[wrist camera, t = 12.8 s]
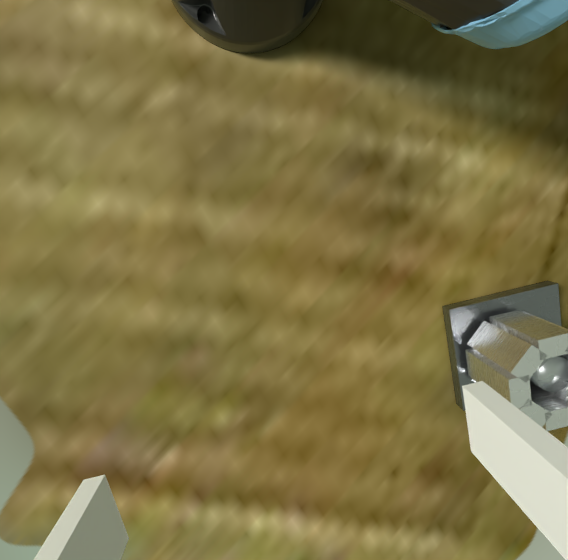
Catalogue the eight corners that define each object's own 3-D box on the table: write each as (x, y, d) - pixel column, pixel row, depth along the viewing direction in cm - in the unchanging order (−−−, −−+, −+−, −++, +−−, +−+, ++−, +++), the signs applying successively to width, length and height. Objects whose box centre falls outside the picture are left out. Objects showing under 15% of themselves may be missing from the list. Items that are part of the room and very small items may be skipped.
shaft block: (442, 306, 41) (485, 330, 34) (547, 280, 42) (614, 298, 34) (456, 403, 44) (499, 446, 36) (555, 378, 44) (620, 416, 36)
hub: (461, 323, 39) (505, 348, 33) (544, 303, 40) (604, 324, 33) (472, 400, 41) (514, 439, 34) (551, 380, 42) (608, 415, 35)
